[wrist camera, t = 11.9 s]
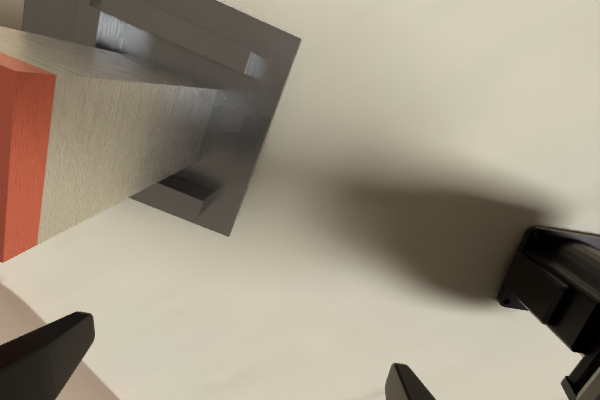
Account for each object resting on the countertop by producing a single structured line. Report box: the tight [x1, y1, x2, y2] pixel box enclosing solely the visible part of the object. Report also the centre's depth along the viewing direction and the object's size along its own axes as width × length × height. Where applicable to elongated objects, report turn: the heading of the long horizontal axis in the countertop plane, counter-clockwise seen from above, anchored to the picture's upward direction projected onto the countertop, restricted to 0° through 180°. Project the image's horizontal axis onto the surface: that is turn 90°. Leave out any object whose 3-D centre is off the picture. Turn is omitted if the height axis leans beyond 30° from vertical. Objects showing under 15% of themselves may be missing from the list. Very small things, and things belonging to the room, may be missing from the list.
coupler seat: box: [23, 0, 302, 237], centre depth 18 cm, size 16×14×3 cm
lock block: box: [0, 26, 218, 263], centre depth 13 cm, size 5×5×13 cm
